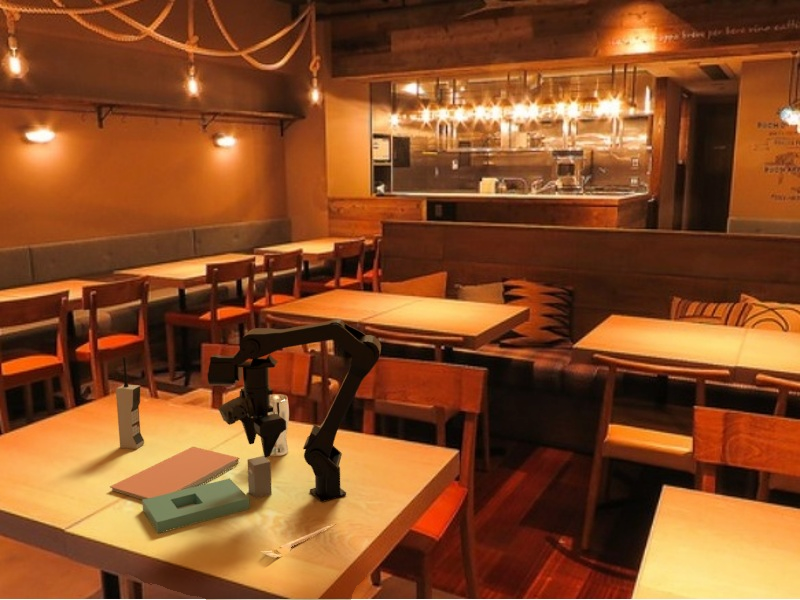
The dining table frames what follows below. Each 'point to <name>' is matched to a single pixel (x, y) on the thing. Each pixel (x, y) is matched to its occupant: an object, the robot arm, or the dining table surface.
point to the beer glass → (282, 410)
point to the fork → (294, 542)
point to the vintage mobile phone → (129, 414)
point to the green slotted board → (183, 510)
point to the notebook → (176, 473)
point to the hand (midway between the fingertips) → (259, 450)
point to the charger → (259, 476)
